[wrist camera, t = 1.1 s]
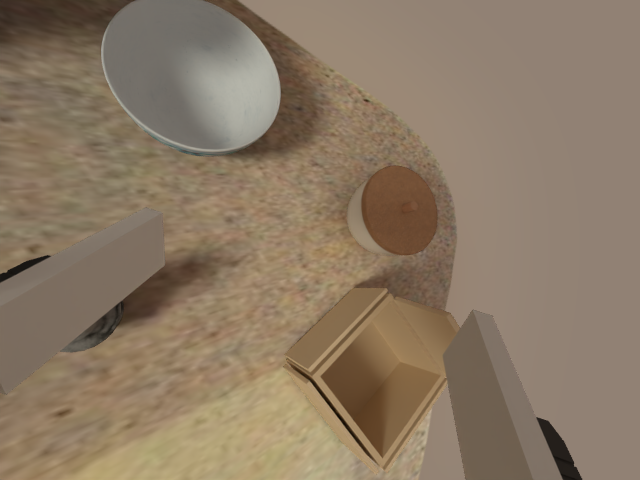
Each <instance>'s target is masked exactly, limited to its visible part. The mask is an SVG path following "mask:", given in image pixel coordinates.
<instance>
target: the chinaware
mask: <svg viewBox="0 0 640 480" xmlns="http://www.w3.org/2000/svg"><path fill="white" fill-rule="evenodd" d="M101 58H102V65H103V70H104V74H105V77H106V79H107V82H108V84H109V86H110V89H111V90H112V92H113V94H114V96H115V97H116V99H117V101H118V102H119V103H120V105H121V106H122V108H123V109H124V110H125V111H126V113H127V114H128V115H129V116H130V117H131V118H132V120H133V121H134V122H135V123H136V124H137V125H138V126H139V127H141V128H142V129H143V130H144V131H145V132H146V133H148V134H149V135H150V136H152V137H153V138H155V139H156V140H158V141H159V142H161V143H163V144H164V145H166V146H168V147H170V148H172V149H175V150H177V151H180V152H183V153H187V154H191V155H196V156H205V157H214V156H223V155H228V154H232V153H235V152H237V151H240V150H242V149H244V148H246V147H248V146H250V145H251V144H253V143H254V142H255V141H257V140H258V139H259V138H260V137H262V136H263V135H264V134H265V133H266V132H267V130H268V129H269V128H270V127H271V125H272V123H273V122H274V120H275V118H276V116H277V113H278V110H279V106H280V99H281V87H280V80H279V76H278V72H277V69H276V66H275V64H274V62H273V59H272V57H271V56H270V54H269V52H268V50H267V49H266V47H265V46H264V44H263V43H262V42H261V40H260V39H259V38H258V37H257V36H256V35H255V33H254V32H253V31H252V30H251V29H250V28H249V27H248V26H246V25H245V24H244V23H243V22H242V21H240V20H239V19H238V18H236V17H235V16H234V15H232V14H231V13H229V12H227V11H226V10H224V9H222V8H220V7H218V6H216V5H214V4H212V3H209V2H207V1H204V0H135V1H133V2H131V3H129V4H128V5H126V6H125V7H123V8H122V9H121V10H120V11H119V12H117V13H116V15H115V16H114V17H113V18H112V19H111V21H110V22H109V24H108V26H107V28H106V30H105V33H104V36H103V40H102V47H101Z"/></svg>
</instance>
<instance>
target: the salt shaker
mask: <svg viewBox="0 0 640 480" xmlns="http://www.w3.org/2000/svg"><path fill="white" fill-rule="evenodd" d="M123 312H124V304H123V301H121V302H119V303H118V304H117V305H116V306H114V307H113V308H112V309H111V310H110V311H108V312H107V313H106V314H105V315H103V316H102V317H101V318H100V319H99V320H97V321H96V322H95V323H94V324H92V325H91V326H90V327H89V328H88V329H86V330H85V331H84V332H83V333H81V334H80V335H79V336H78V337H77V338H75V339H74V340H73V341H72V342H70V343H69V344H68V345H67V346H65V347H64V348H63V349H62V350H61V351H60V352H77V351H84V350H86V349H89V348H92V347H94V346H96V345H98V344H99V343H101V342H103V341H104V340H106V339H107V338H108V337H109V336H110V335H111V334H112V333H113V331H114V330H115V328H116V326H117V325H118V324H119V322H120V320H121V319H122V315H123Z"/></svg>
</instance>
